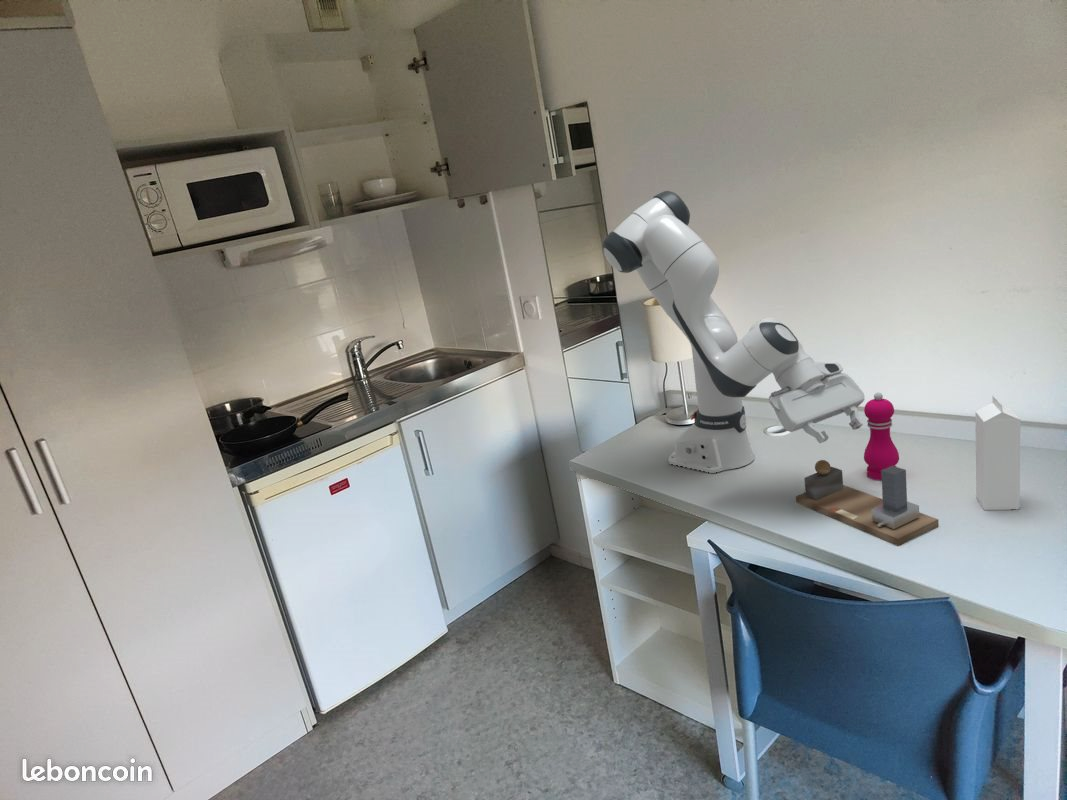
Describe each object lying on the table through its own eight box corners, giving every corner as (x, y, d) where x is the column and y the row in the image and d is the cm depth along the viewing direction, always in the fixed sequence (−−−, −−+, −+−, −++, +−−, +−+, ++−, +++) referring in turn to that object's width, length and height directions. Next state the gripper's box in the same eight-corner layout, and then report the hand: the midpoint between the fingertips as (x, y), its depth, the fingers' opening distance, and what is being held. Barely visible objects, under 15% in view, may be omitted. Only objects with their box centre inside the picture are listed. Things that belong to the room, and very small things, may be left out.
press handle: (868, 522, 136) (865, 474, 133) (897, 508, 139) (895, 461, 136) (889, 531, 132) (887, 481, 129) (919, 517, 134) (917, 468, 132)
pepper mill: (904, 479, 154) (900, 395, 148) (869, 482, 155) (864, 399, 150) (894, 467, 160) (891, 386, 155) (861, 469, 162) (856, 389, 157)
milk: (984, 510, 136) (983, 406, 130) (976, 497, 141) (975, 396, 135) (1019, 509, 134) (1020, 403, 128) (1009, 496, 139) (1010, 393, 133)
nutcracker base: (796, 502, 153) (792, 464, 150) (832, 486, 157) (830, 449, 154) (898, 545, 130) (896, 502, 127) (938, 526, 133) (937, 483, 131)
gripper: (771, 386, 142) (810, 441, 136) (845, 361, 149) (885, 412, 143) (758, 403, 147) (796, 456, 141) (830, 377, 154) (869, 427, 148)
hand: (841, 434), depth 142 cm, fingers open, 8 cm apart
